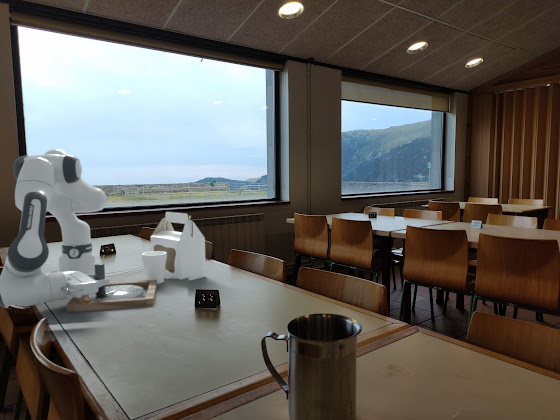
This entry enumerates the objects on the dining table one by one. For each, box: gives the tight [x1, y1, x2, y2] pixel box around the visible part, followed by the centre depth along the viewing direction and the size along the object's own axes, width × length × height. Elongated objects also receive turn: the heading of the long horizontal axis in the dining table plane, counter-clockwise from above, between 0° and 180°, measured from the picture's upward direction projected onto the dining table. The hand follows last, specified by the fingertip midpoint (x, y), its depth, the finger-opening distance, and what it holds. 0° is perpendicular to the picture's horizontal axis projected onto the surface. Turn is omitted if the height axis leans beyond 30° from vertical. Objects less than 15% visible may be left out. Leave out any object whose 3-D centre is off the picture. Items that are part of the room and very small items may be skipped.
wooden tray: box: [65, 279, 158, 313], centre depth 144 cm, size 26×26×4 cm
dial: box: [87, 263, 145, 301], centre depth 143 cm, size 18×18×13 cm
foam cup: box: [141, 251, 167, 285], centre depth 165 cm, size 10×9×13 cm
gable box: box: [150, 211, 207, 281], centre depth 180 cm, size 22×13×28 cm, turn 49°
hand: (103, 278), depth 137 cm, fingers open, 8 cm apart
